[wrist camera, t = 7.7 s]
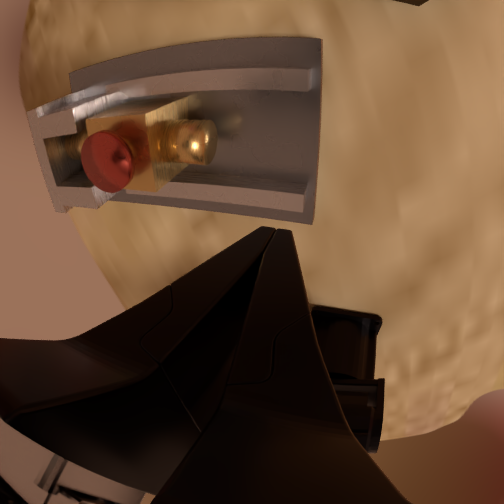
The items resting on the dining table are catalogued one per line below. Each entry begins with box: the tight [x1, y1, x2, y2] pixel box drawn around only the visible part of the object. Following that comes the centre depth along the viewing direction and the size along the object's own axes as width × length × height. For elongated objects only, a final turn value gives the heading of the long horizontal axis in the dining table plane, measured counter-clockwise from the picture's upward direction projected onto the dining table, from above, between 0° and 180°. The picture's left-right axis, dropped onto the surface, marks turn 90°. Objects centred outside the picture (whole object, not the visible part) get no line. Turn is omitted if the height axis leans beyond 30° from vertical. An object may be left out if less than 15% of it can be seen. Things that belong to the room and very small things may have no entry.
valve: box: [65, 97, 218, 193], centre depth 17 cm, size 11×5×6 cm, turn 90°
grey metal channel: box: [27, 37, 323, 225], centre depth 17 cm, size 21×12×6 cm, turn 92°
